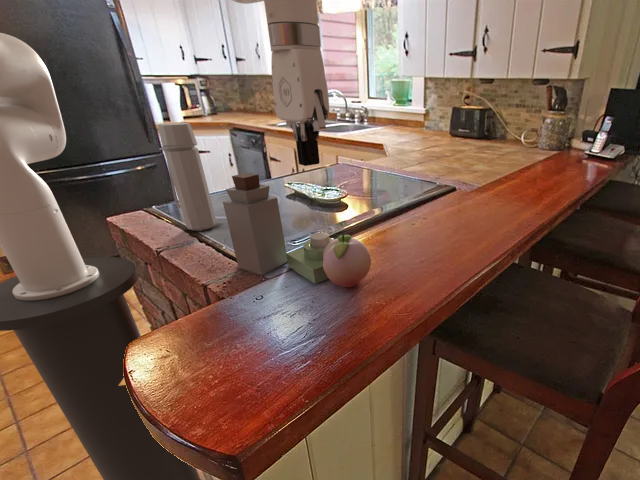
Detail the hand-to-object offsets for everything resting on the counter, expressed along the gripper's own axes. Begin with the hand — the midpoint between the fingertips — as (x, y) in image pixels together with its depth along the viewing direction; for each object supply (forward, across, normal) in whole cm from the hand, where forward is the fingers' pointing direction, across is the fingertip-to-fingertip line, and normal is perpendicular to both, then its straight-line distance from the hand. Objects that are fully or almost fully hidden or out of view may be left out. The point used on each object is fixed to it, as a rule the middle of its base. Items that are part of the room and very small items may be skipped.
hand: (309, 164), depth 63 cm
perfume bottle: (+20, -9, -8) cm, 24 cm away
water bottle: (+21, -43, -10) cm, 48 cm away
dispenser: (+20, 0, 0) cm, 20 cm away
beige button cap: (+15, 0, 0) cm, 16 cm away
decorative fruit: (+20, +10, -1) cm, 23 cm away
